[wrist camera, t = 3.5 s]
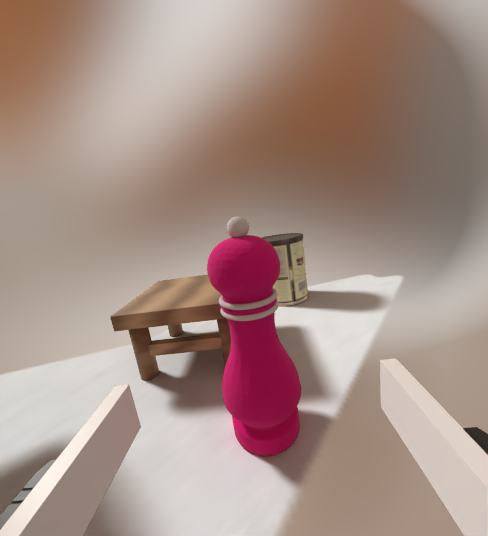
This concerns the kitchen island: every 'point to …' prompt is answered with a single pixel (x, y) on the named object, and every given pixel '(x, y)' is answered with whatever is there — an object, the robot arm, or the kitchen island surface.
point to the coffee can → (290, 268)
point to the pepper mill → (254, 343)
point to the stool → (172, 320)
